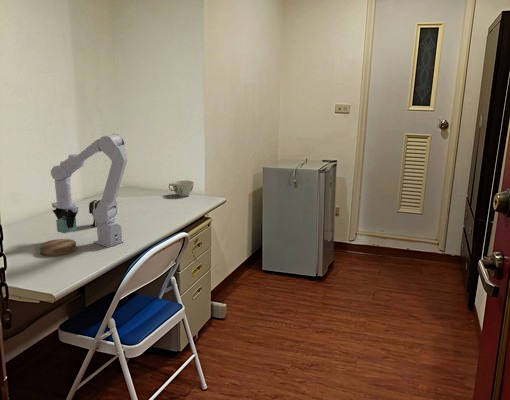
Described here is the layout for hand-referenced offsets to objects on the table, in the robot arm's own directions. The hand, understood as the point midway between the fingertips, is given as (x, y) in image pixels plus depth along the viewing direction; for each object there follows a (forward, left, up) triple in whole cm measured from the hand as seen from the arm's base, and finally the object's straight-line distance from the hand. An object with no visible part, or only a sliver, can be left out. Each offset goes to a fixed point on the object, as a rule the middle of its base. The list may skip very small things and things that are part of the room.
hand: (66, 226), depth 195 cm
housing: (0, 0, -2) cm, 2 cm away
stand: (-8, +10, -6) cm, 14 cm away
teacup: (+16, -88, -6) cm, 90 cm away
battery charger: (+8, -21, -6) cm, 23 cm away
